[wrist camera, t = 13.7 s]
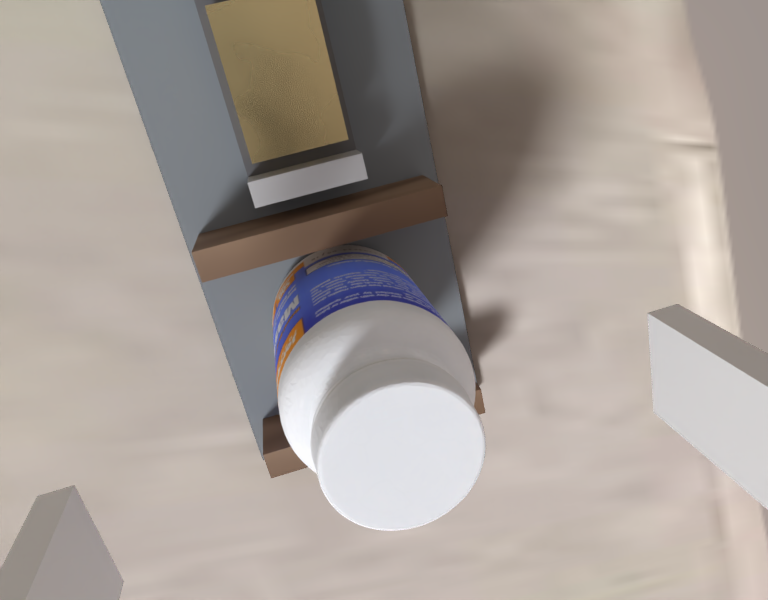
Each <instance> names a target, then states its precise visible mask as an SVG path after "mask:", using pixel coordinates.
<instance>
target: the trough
mask: <svg viewBox="0 0 768 600" xmlns="http://www.w3.org/2000/svg"><path fill="white" fill-rule="evenodd" d="M446 216H448V215H447V210H446V205H445V199H444V194H443V189H442V185H440V184H438V183H436V182H434V181H432V180H431V179H429V178H427V177H425V176H423V175H421V176H417V177H413V178H409V179H405V180H402V181H398V182H394V183H390V184H386V185H383V186H379V187H375V188H371V189H368V190H364V191H360V192H356V193H352V194H349V195H345V196H341V197H337V198H333V199H330V200H326V201H322V202H318V203H314V204H311V205H307V206H303V207H299V208H296V209H292V210H288V211H284V212H280V213H277V214H273V215H269V216H265V217H261V218H258V219H254V220H250V221H246V222H243V223H239V224H235V225H231V226H227V227H224V228H220V229H216V230H212V231H208V232H205V233H201V234H199V235H198V237H197V240H196V242H195V245H194V247H193V250H192V252H191V253H192V256H193V259H194V261H195V264H196V267H197V270H198V273H199V276H200V278H201V281H202V283H203V282H207V281H210V280H214V279H218V278H221V277H225V276H229V275H232V274H236V273H240V272H244V271H247V270H251V269H255V268H258V267H262V266H266V265H269V264H273V263H277V262H280V261H284V260H288V259H291V258H295V257H299V256H302V255H306V254H310V253H313V252H317V251H321V250H324V249H328V248H332V247H335V246H339V245H343V244H346V243H350V242H354V241H358V240H361V239H365V238H369V237H372V236H376V235H380V234H383V233H387V232H391V231H394V230H398V229H402V228H405V227H409V226H413V225H416V224H420V223H424V222H427V221H431V220H435V219H438V218H442V217H446ZM475 392H476V394H475V403H474V407H475V409H476V411H477V413H478V414H482V413H485V408H484V403H483V398H482V393H481V389H480V387H479V386H478V385H477V383H476V382H475ZM263 456H264V459H265V462H266V465H267V468H268V471H269V473H270V476H271V478H274V477H277V476H280V475H284V474H287V473H290V472H293V471H297V470H300V469H303V468H306V467H308V466H307V465H306V464H305V463H303V462H302V461H301V459H300V458H299V457H298V456H297V455H296V453H295V452H294V451H293V449H292V447H291V446H290V444H289V442H288V440H287V438H286V436H285V434H284V430H283V427H282V424H281V420H280V414H278V415H274V416H271V417H268V418H264V419H263Z"/></svg>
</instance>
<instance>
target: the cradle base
mask: <svg viewBox="0 0 768 600" xmlns="http://www.w3.org/2000/svg"><path fill="white" fill-rule="evenodd" d="M224 1H228V0H194V2H195V5H196V8H197V12H198V15H199V18H200V21H201V25H202V28H203V31H204V35H205V38H206V41H207V44H208V48H209V51H210V54H211V58H212V61H213V64H214V67H215V71H216V74H217V77H218V81H219V84H220V87H221V90H222V94H223V97H224V100H225V103H226V107H227V110H228V113H229V117H230V120H231V123H232V126H233V130H234V133H235V136H236V140H237V143H238V146H239V149H240V153H241V156H242V159H243V163H244V166H245V169H246V172H247V176H248V182H247V183H248V187H249V190H250V193H251V196H252V200H253V203H254V206H255V208H258V207H262V206H266V205H269V204H273V203H277V202H281V201H285V200H289V199H292V198H296V197H300V196H304V195H308V194H311V193H315V192H319V191H323V190H327V189H330V188H334V187H338V186H342V185H346V184H350V183H353V182H357V181H361V180H365V179H368V177H367V173H366V168H365V164H364V160H363V156H362V153H361V152H359V151H358V150H356V146H355V142H354V138H353V133H352V129H351V125H350V121H349V117H348V112H347V108H346V104H345V100H344V96H343V91H342V87H341V83H340V79H339V74H338V70H337V66H336V62H335V58H334V53H333V49H332V45H331V41H330V36H329V32H328V28H327V24H326V20H325V15H324V11H323V7H322V3H321V0H315V1H316V5H317V10H318V14H319V18H320V22H321V26H322V30H323V35H324V39H325V43H326V47H327V51H328V55H329V60H330V64H331V68H332V72H333V76H334V80H335V85H336V89H337V93H338V97H339V101H340V105H341V110H342V114H343V118H344V122H345V126H346V130H347V135H348V140H344V141H340V142H337V143H333V144H329V145H325V146H321V147H317V148H313V149H309V150H305V151H301V152H297V153H293V154H289V155H286V156H282V157H278V158H274V159H270V160H266V161H262V162H258V163H254V164H252V162H251V158H250V155H249V152H248V148H247V145H246V142H245V138H244V135H243V132H242V128H241V125H240V122H239V118H238V115H237V112H236V108H235V105H234V102H233V98H232V95H231V92H230V88H229V85H228V82H227V78H226V75H225V72H224V68H223V65H222V62H221V58H220V55H219V52H218V48H217V45H216V42H215V38H214V35H213V32H212V28H211V25H210V22H209V18H208V15H207V12H206V8H205V6H206V5H210V4H215V3H219V2H224Z"/></svg>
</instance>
